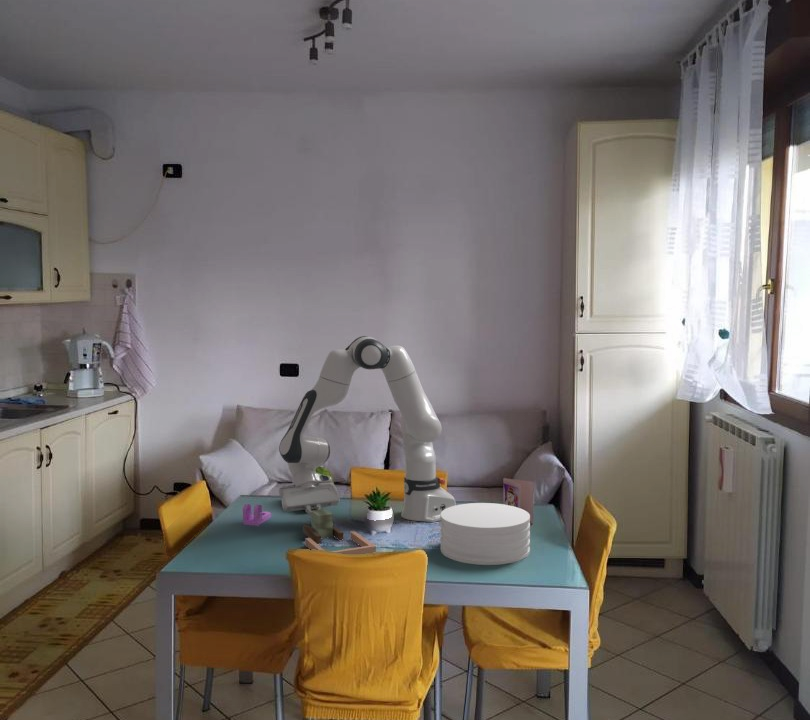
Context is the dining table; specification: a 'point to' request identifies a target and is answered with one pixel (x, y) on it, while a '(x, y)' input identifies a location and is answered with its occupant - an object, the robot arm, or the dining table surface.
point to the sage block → (322, 522)
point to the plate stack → (485, 533)
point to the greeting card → (519, 495)
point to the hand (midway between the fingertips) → (315, 518)
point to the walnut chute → (317, 537)
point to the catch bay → (365, 548)
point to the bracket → (257, 517)
